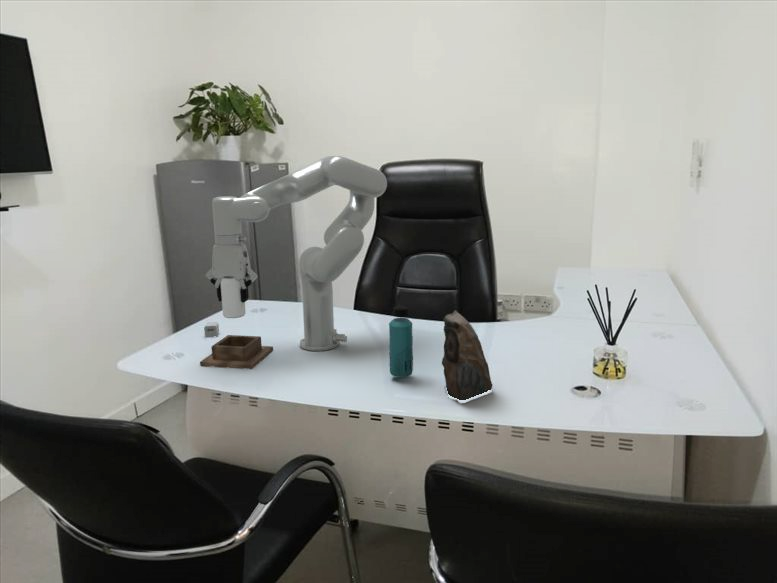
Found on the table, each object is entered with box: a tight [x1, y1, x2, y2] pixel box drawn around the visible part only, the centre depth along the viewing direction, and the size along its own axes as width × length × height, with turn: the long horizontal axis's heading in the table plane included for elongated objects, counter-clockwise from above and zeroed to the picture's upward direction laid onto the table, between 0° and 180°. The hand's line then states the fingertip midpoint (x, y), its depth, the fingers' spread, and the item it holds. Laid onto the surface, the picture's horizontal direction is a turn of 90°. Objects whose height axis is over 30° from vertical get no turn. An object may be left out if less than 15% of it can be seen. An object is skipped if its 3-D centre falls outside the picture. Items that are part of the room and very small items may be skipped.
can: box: [221, 277, 246, 319], centre depth 159 cm, size 6×6×12 cm
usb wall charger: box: [203, 321, 220, 338], centre depth 186 cm, size 4×7×4 cm, turn 9°
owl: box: [441, 310, 493, 400], centre depth 136 cm, size 13×13×20 cm
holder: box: [199, 334, 274, 370], centre depth 163 cm, size 16×16×5 cm
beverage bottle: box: [388, 305, 414, 378], centre depth 145 cm, size 6×7×20 cm
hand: (233, 300), depth 160 cm, fingers closed on can, 6 cm apart
